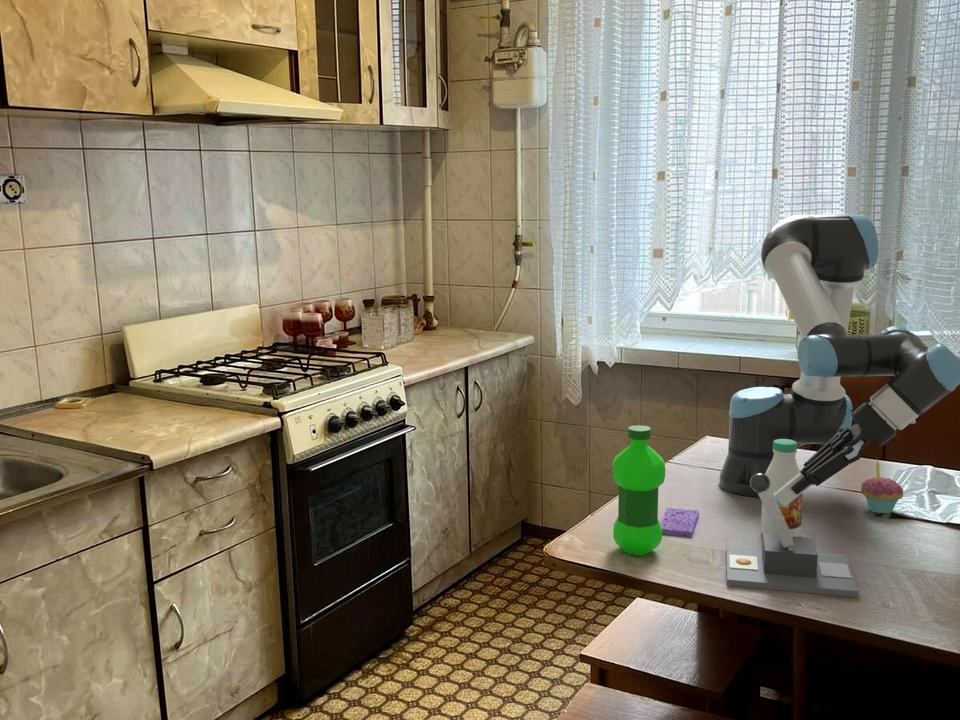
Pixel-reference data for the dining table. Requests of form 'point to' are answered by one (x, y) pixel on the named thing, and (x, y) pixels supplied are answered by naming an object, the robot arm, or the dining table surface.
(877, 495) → the cupcake
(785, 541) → the toggle lever
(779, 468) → the milk bottle
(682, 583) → the dining table surface
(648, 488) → the plastic bottle
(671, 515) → the sponges
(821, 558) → the switch board
